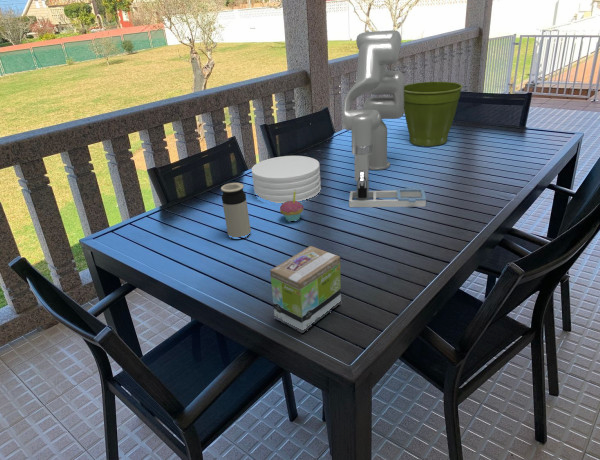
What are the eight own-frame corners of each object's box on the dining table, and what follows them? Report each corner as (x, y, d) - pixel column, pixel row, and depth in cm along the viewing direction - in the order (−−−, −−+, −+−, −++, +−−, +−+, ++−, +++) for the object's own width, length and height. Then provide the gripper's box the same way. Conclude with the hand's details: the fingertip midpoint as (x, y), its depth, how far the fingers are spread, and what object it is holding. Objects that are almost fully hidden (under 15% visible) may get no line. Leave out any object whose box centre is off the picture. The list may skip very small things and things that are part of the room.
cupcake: (307, 215, 164) (305, 185, 158) (299, 225, 157) (297, 194, 151) (285, 214, 167) (282, 184, 161) (277, 223, 159) (274, 193, 154)
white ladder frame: (350, 195, 178) (350, 188, 176) (422, 194, 173) (423, 187, 172) (349, 208, 166) (348, 201, 165) (426, 208, 162) (426, 200, 160)
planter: (355, 200, 173) (355, 175, 169) (367, 199, 173) (367, 174, 169) (358, 204, 169) (357, 179, 165) (370, 203, 169) (369, 178, 165)
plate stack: (330, 183, 193) (329, 157, 188) (304, 208, 170) (302, 180, 165) (274, 178, 204) (271, 154, 199) (242, 201, 182) (238, 174, 177)
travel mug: (241, 242, 149) (233, 192, 141) (223, 237, 153) (215, 189, 145) (255, 232, 155) (249, 184, 147) (238, 228, 159) (230, 181, 151)
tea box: (304, 336, 104) (299, 283, 97) (274, 320, 110) (267, 269, 103) (342, 304, 113) (340, 254, 107) (312, 291, 120) (309, 243, 113)
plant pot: (398, 136, 251) (399, 83, 238) (452, 133, 246) (456, 80, 234) (401, 151, 225) (403, 93, 212) (462, 149, 220) (467, 89, 207)
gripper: (352, 142, 170) (353, 184, 178) (350, 156, 155) (351, 201, 163) (372, 142, 169) (372, 184, 177) (372, 155, 154) (372, 201, 161)
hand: (362, 192), depth 169 cm, fingers open, 8 cm apart
